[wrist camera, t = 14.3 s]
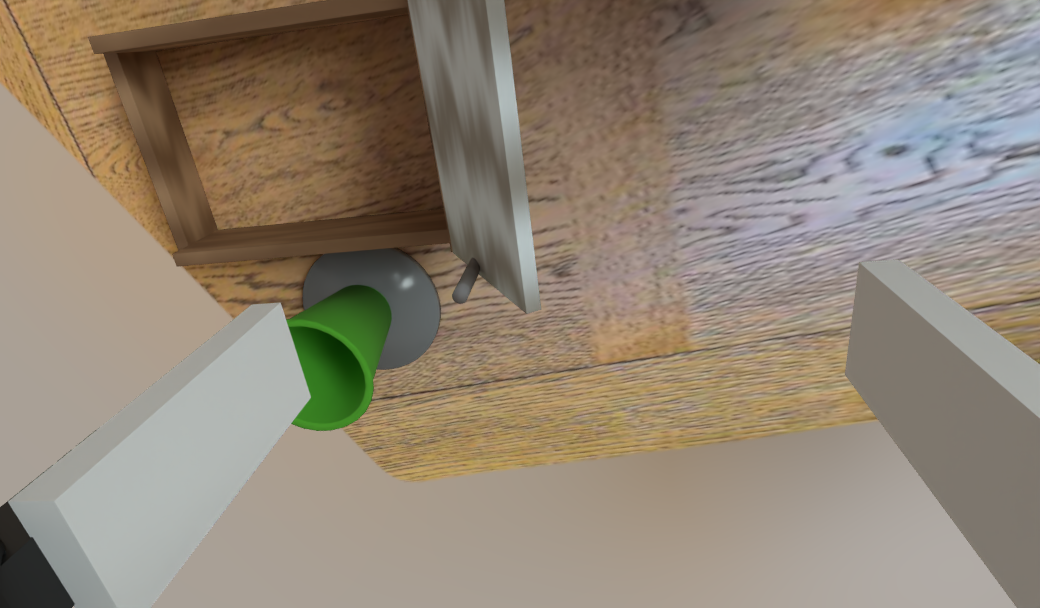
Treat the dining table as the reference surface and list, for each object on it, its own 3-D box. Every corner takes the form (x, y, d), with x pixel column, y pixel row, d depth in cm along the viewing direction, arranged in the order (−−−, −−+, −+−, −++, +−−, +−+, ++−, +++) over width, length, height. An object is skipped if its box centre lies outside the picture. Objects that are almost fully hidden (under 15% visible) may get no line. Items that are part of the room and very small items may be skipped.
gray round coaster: (290, 246, 49) (285, 249, 48) (426, 234, 47) (424, 237, 47) (326, 368, 54) (323, 372, 53) (451, 361, 52) (449, 365, 52)
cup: (350, 369, 53) (295, 447, 43) (292, 286, 50) (219, 348, 40) (434, 334, 50) (396, 408, 40) (378, 244, 47) (323, 300, 37)
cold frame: (138, 38, 43) (-146, 40, 27) (534, -22, 39) (495, -64, 22) (211, 242, 50) (19, 347, 33) (557, 210, 45) (540, 312, 29)
